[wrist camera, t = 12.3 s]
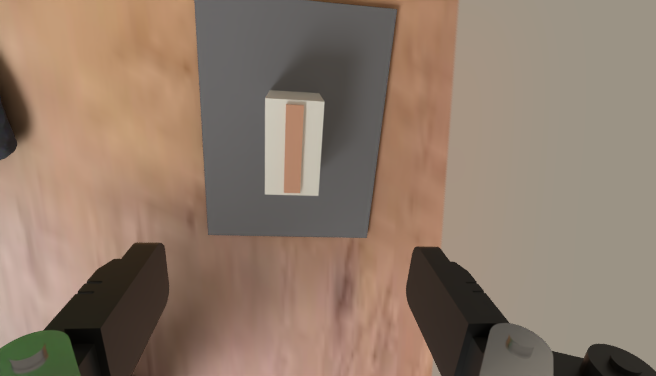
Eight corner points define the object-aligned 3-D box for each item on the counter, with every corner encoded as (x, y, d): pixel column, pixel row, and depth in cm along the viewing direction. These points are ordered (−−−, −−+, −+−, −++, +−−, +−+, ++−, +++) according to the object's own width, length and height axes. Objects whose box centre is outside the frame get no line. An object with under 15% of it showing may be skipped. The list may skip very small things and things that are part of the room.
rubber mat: (209, 232, 32) (208, 234, 32) (195, -10, 25) (193, -11, 25) (365, 235, 34) (366, 237, 34) (395, 10, 27) (397, 9, 26)
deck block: (269, 90, 28) (264, 98, 23) (319, 93, 28) (324, 102, 23) (269, 172, 30) (264, 196, 25) (314, 173, 31) (318, 197, 26)
